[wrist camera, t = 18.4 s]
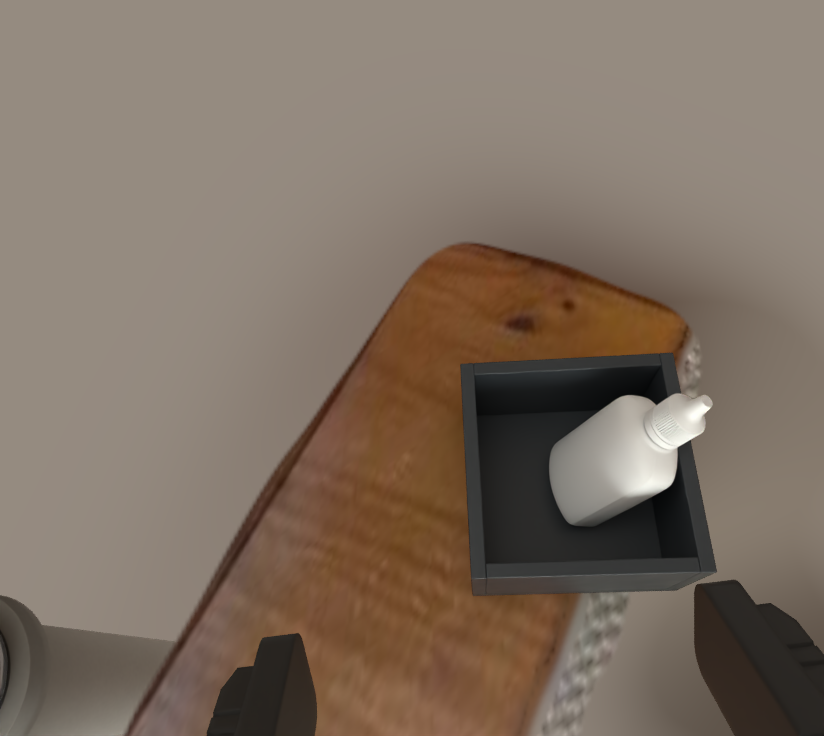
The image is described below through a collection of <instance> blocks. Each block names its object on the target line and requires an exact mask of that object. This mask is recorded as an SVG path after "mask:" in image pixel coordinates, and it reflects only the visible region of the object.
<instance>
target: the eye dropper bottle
mask: <svg viewBox="0 0 824 736" xmlns="http://www.w3.org/2000/svg"><path fill="white" fill-rule="evenodd" d="M712 405H713V403H712V400H711V399H710V398H709V397H708V396H706V395H702V396H700V397H697V398H694V399H692V398H690V397H689V396H687V395H684V394H680V393H677V394H673V395H671V396H670V397H668V398H667V399H665V400H664V401H662V402H661V403H659V404H658V405H655V403H653V402H652V401H651V400H650V399H648V398H645V397H641V396H634V395H626V396H622V397H619V398H618V399H616V400H614V401H613V402H612V403H610V404H609V405H607V406H606V407H604V408H603V409H602V410H600V411H599V412H598V413H596V414H595V415H593V416H592V417H591V418H589V419H588V420H587V421H585V422H584V423H582V424H581V425H580V426H578V427H577V428H576V429H574V430H573V431H572V432H570V433H569V434H568V435H566V436H565V437H563V438H562V439H561V440H559V441H558V442H557V443H556V444H555V445H554V446H553V448H552V450H551V453H550V460H549V477H550V483H551V488H552V492H553V495H554V498H555V500H556V503H557V505H558V507H559V509H560V511H561V513H562V515H563V517H564V518H565V520H566V521H567V522H568V523H569V524H571V525H574V526H587V527H594V526H597V525H599V524H601V523H603V522H605V521H607V520H609V519H611V518H613V517H614V516H616V515H618V514H620V513H622V512H624V511H626V510H628V509H630V508H632V507H634V506H635V505H637V504H639V503H641V502H643V501H645V500H647V499H649V498H651V497H653V496H654V495H656V494H658V493H660V492H661V491H663V490H665V489H667V488H668V487H669V486H670V485H671V484H672V482H673V481H674V478H675V474H676V469H677V458H678V450H677V447H679V446H681V445H682V444H684V443H686V442H688V441H689V440H691V439H693V438H694V437H696V436H698V435H700V434H701V433H702V432H703V431H704V429H705V426H706V421H705V416H704V414H705V413H706V412H707V411H708V410H709V409H710V408H711V407H712Z"/></svg>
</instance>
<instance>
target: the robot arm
mask: <svg viewBox="0 0 824 736" xmlns="http://www.w3.org/2000/svg"><path fill="white" fill-rule="evenodd" d="M694 634H695V635H694V645H695V653H696V658H697V662H698V665H699V669H700V671H701V674H702V676H703V678H704V680H705V682H706V684H707V686H708V688H709V689H710V691H711V693H712V695H713V697H714V699H715V701H716V702H717V704H718V706H719V708H720V710H721V712H722V713H723V715H724V717H725V719H726V721H727V723H728V724H729V726H730V728H731V730H732V732H733V733H734V735H735V736H824V654H823V653H822V652H821V650H820V649H819V648H818V647H817V646H815V645H814V643H813V640H812V639H811V638H810V637H809V636H808V634H807V633H806V632H805V630H804V629H803V628H802V627H801V626H800V624H799V623H798V622H797V621H796V620H795V619H794V618H792V617H791V616H789V615H788V614H786V613H785V612H783V611H782V610H780V609H779V608H777V607H776V606H774V605H773V604H771V603H768V604H760V605H756V604H755V603H754V601H753V600H752V599H751V597H750V596H749V595H748V593H747V592H746V591H745V589H744V588H743V586H742V585H741V584H740V583H739V582H738V581H736V580H728V581H720V582H712V583H704V584H697V585H696V587H695V592H694ZM9 679H10V653H9V648H8V645H7V642H6V640H5V637H4V635H3V633H2V632H1V630H0V709H1V706H2V704H3V702H4V699H5V696H6V693H7V689H8V685H9ZM316 721H317V703H316V694H315V689H314V685H313V681H312V677H311V673H310V668H309V664H308V660H307V656H306V652H305V648H304V644H303V641H302V638H301V636H300V634H299V633H296V634H288V635H280V636H272V637H264V638H262V640H261V642H260V644H259V648H258V652H257V655H256V659H255V662H254V666H249V667H241V668H237V669H236V671H235V672H234V673H233V675H232V676H231V677H230V678H229V680H228V681H227V682H226V684H225V685H224V686H223V687H222V689H221V691H220V694H219V697H218V700H217V703H216V706H215V709H214V712H213V718H211V721H210V724H209V727H208V730H207V736H315V729H316Z"/></svg>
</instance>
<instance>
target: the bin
mask: <svg viewBox="0 0 824 736" xmlns="http://www.w3.org/2000/svg"><path fill="white" fill-rule="evenodd" d="M460 366H461V386H462V406H463V426H464V445H465V465H466V485H467V505H468V524H469V544H470V564H471V581H472V592H473V596H482V595H520V594H558V593H596V592H635V591H671V590H672V591H673V590H678V589H680V588H683V587H685V586H687V585H689V584H691V583H694V582H696V581H698V580H700V579H702V578H705V577H707V576H709V575H711V574H713V573H716V572H717V570H716V565H715V560H714V555H713V550H712V545H711V540H710V536H709V530H708V525H707V520H706V515H705V510H704V505H703V500H702V495H701V490H700V485H699V480H698V476H697V471H696V466H695V460H694V456H693V451H692V446H691V441H690V440H689V441H688V442H686V443H684V444H682V445H681V446H679V447H677V450H678V458H677V469H676V474H675V478H674V481H673V482H672V484H671V485H670V486H669V487H668V488H667V489H665V490H663V491H661V492H660V493H658V494H656V495H654V496H653V497H651V498H649V499H647V500H645V501H643V502H641V503H639V504H637V505H635V506H634V507H632V508H630V509H628V510H626V511H624V512H622V513H620V514H618V515H616V516H614V517H613V518H611V519H609V520H607V521H605V522H603V523H601V524H599V525H597V526H594V527H587V526H574V525H571V524H569V523H568V522H567V521H566V520H565V518H564V517H563V515H562V513H561V511H560V509H559V507H558V505H557V503H556V500H555V498H554V495H553V492H552V488H551V483H550V477H549V460H550V453H551V450H552V448H553V446H554V445H555V444H556V443H557V442H558V441H559V440H561V439H562V438H563V437H565V436H566V435H568V434H569V433H570V432H572V431H573V430H574V429H576V428H577V427H578V426H580V425H581V424H582V423H584V422H585V421H587V420H588V419H589V418H591V417H592V416H593V415H595V414H596V413H598V412H599V411H600V410H602V409H603V408H604V407H606V406H607V405H609V404H610V403H612V402H613V401H614V400H616V399H618V398H619V397H622V396H626V395H634V396H641V397H645V398H648V399H650V400H651V401H652V402H653V403H655V405H658V404H659V403H661V402H662V401H664V400H665V399H667V398H668V397H670V396H671V395H673V394H677V393H680V394H681V391H680V386H679V381H678V376H677V371H676V366H675V361H674V356H673V353H660V354H640V355H621V356H602V357H583V358H564V359H546V360H527V361H508V362H489V363H474V364H473V363H469V364H461V365H460Z"/></svg>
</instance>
